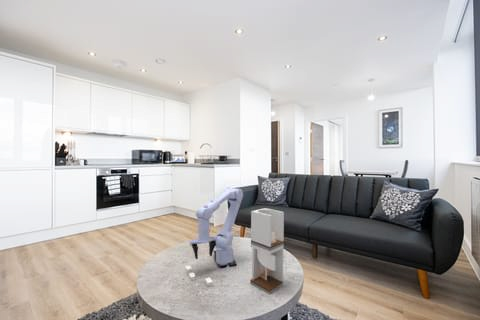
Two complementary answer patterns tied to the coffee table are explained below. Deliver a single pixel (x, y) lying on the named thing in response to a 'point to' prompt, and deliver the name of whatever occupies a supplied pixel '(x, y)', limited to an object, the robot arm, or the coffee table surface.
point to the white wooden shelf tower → (267, 249)
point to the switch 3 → (208, 282)
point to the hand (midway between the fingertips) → (203, 256)
